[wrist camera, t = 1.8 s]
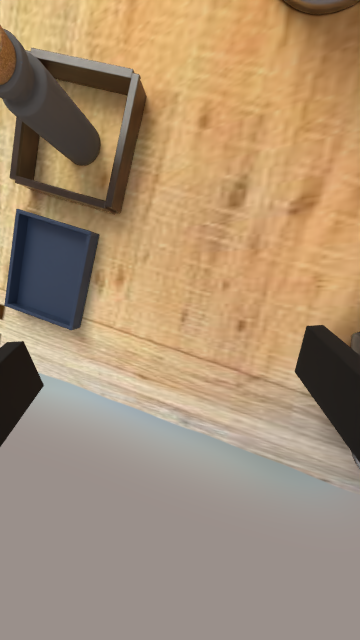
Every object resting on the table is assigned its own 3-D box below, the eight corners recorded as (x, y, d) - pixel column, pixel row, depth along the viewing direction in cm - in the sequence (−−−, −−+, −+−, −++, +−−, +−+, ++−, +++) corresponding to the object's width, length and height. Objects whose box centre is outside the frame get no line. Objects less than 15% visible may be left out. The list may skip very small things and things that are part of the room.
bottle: (69, 169, 34) (-41, 87, 20) (62, 127, 33) (-59, 9, 19) (103, 162, 33) (13, 69, 19) (97, 118, 32) (-3, -15, 18)
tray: (28, 212, 37) (16, 208, 35) (99, 234, 35) (91, 231, 33) (16, 304, 40) (4, 305, 38) (80, 327, 39) (71, 330, 37)
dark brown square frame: (43, 68, 32) (24, 46, 29) (148, 92, 31) (140, 70, 27) (27, 189, 36) (9, 180, 33) (120, 216, 34) (110, 210, 31)
